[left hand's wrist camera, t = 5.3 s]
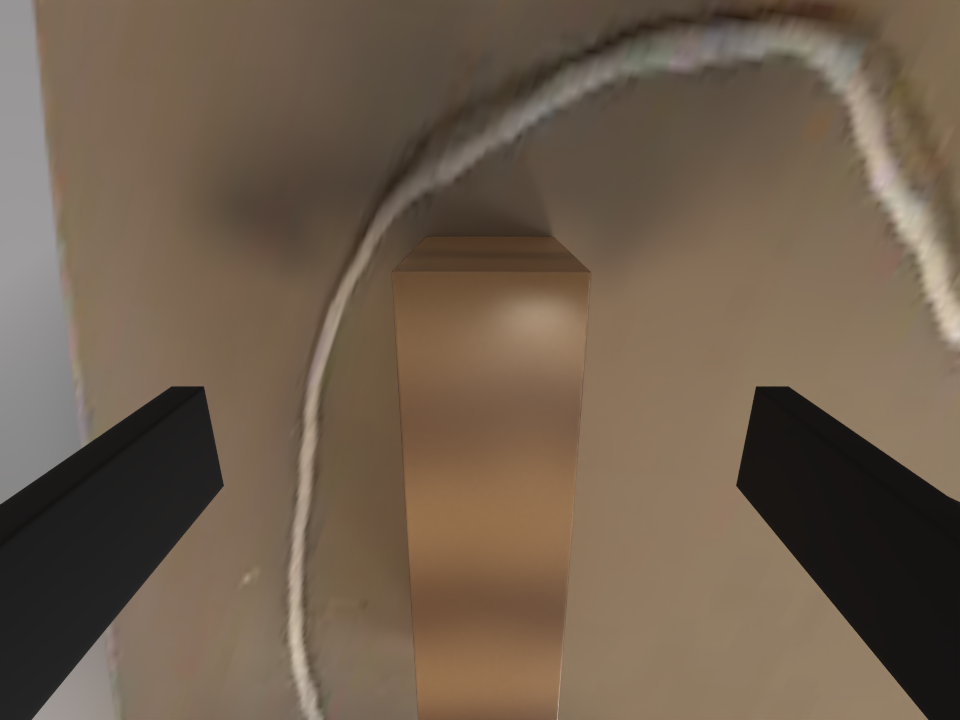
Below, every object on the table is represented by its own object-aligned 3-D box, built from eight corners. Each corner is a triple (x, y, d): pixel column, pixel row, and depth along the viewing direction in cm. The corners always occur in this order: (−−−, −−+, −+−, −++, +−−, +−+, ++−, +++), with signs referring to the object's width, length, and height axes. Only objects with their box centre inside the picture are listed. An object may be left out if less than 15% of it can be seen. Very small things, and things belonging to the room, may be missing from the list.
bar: (425, 236, 24) (391, 271, 15) (554, 236, 24) (591, 271, 15) (440, 645, 32) (423, 812, 24) (534, 646, 32) (551, 814, 24)
